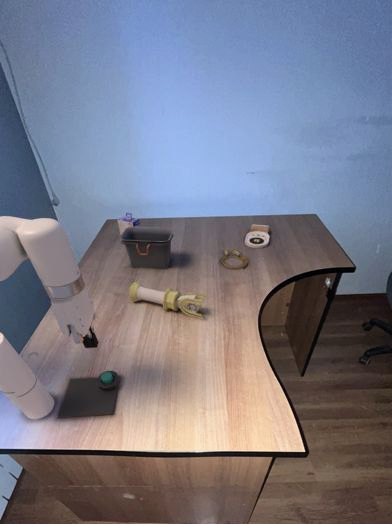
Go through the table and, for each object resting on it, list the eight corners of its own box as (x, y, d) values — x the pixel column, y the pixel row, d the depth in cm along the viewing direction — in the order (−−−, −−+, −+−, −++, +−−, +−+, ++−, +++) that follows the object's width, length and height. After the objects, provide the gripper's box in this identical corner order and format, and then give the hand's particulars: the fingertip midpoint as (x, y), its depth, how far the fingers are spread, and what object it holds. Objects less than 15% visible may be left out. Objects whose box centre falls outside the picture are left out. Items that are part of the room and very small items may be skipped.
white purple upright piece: (144, 243, 136) (138, 213, 126) (137, 248, 133) (131, 217, 122) (129, 239, 140) (122, 210, 129) (122, 244, 136) (115, 214, 126)
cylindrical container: (32, 397, 73) (-26, 332, 55) (58, 396, 73) (9, 329, 55) (22, 421, 68) (-45, 358, 50) (50, 419, 69) (-7, 355, 50)
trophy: (125, 287, 95) (202, 304, 86) (136, 276, 100) (210, 292, 91) (130, 305, 101) (202, 323, 92) (140, 294, 106) (210, 310, 97)
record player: (271, 226, 139) (268, 243, 126) (270, 231, 141) (266, 249, 128) (249, 224, 141) (243, 241, 128) (248, 230, 144) (242, 247, 131)
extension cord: (250, 254, 125) (250, 250, 124) (244, 271, 115) (245, 267, 113) (225, 251, 128) (225, 247, 126) (217, 268, 117) (217, 264, 116)
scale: (59, 419, 69) (54, 413, 66) (72, 379, 77) (69, 372, 75) (115, 416, 69) (112, 410, 67) (122, 376, 78) (119, 369, 75)
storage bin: (177, 257, 125) (174, 227, 114) (171, 275, 114) (167, 243, 104) (133, 256, 127) (127, 226, 117) (123, 273, 117) (115, 241, 106)
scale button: (101, 384, 73) (99, 381, 71) (103, 375, 75) (102, 372, 73) (112, 383, 73) (111, 380, 71) (114, 375, 75) (112, 371, 74)
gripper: (58, 266, 60) (84, 326, 73) (32, 307, 50) (69, 369, 63) (91, 265, 60) (112, 325, 73) (72, 306, 50) (100, 367, 63)
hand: (92, 345), depth 68 cm, fingers closed
